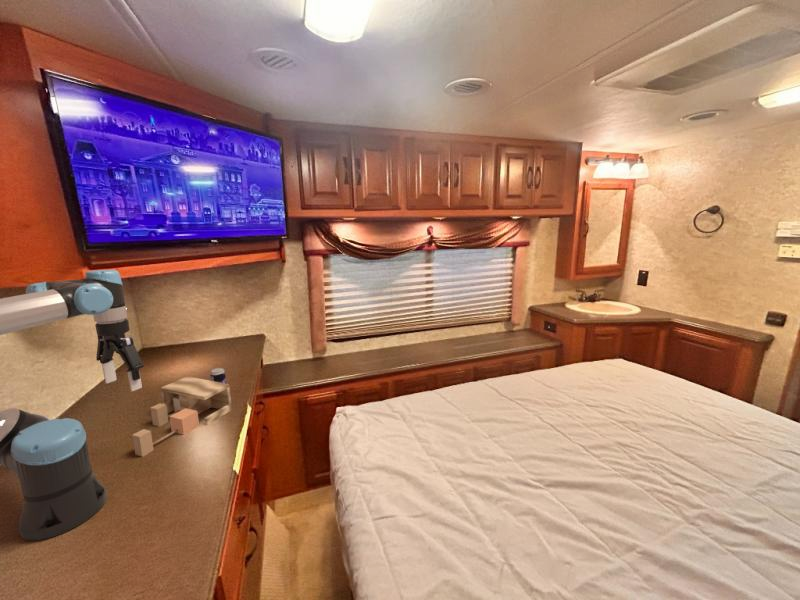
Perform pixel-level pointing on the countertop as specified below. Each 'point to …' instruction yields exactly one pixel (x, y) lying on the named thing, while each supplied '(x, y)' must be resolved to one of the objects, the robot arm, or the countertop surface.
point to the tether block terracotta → (179, 424)
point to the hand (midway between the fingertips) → (123, 385)
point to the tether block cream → (163, 412)
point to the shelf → (198, 396)
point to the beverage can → (218, 375)
